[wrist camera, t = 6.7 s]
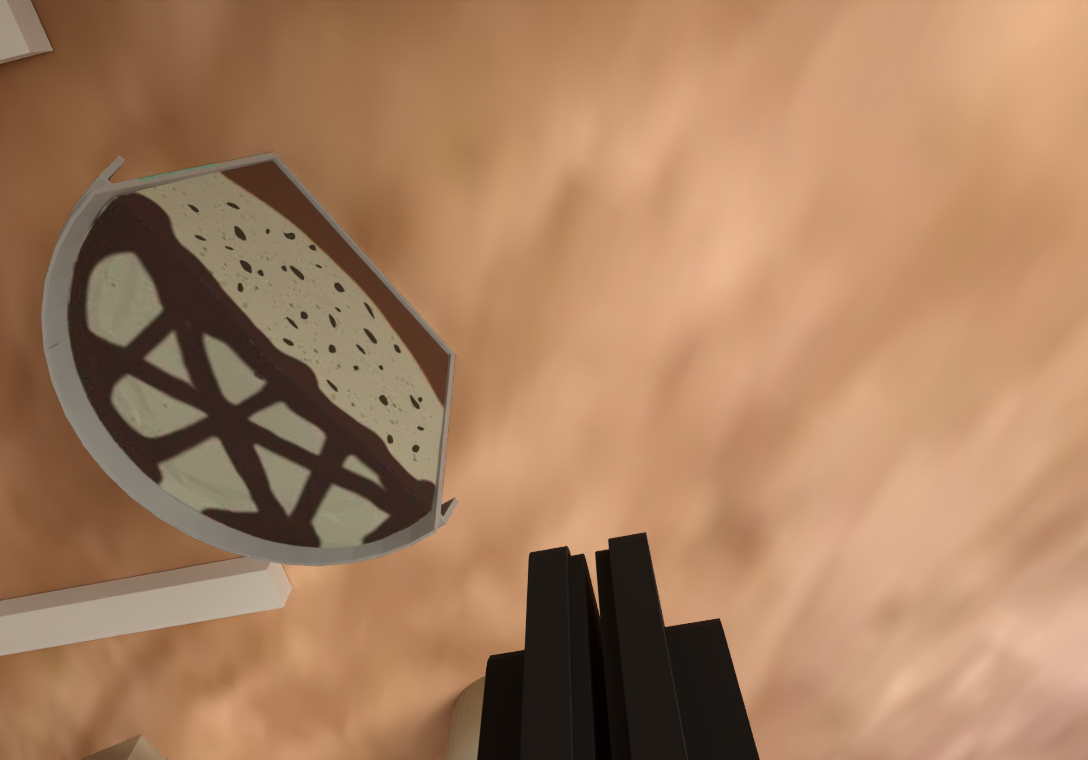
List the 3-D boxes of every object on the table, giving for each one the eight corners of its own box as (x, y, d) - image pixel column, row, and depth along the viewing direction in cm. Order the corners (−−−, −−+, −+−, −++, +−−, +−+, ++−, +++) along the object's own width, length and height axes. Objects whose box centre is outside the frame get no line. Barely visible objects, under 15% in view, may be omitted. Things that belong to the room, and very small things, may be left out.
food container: (119, 227, 28) (-92, 334, 19) (240, 114, 26) (71, 170, 17) (363, 468, 32) (287, 651, 23) (481, 383, 30) (449, 545, 21)
